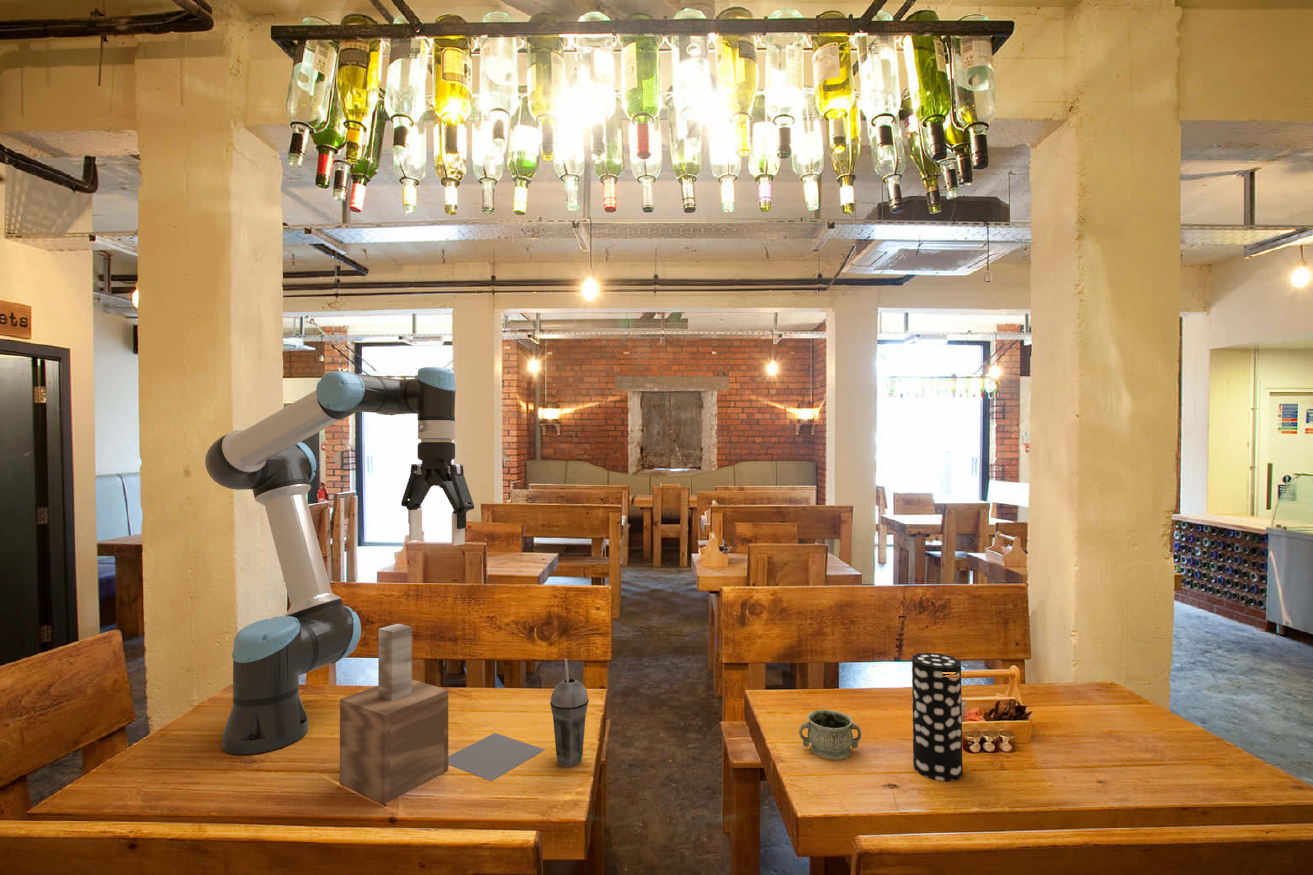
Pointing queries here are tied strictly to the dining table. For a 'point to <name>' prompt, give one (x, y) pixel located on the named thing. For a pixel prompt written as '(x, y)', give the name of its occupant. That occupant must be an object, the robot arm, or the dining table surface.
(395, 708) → the wooden block with peg
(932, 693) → the white-spotted black cylinder
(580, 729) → the beverage cup
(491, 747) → the mat
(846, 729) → the vessel
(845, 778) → the dining table surface
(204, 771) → the dining table surface
